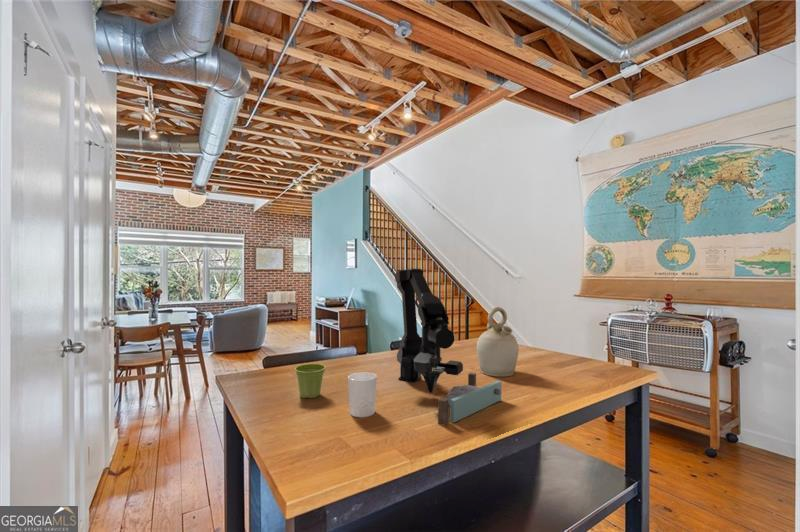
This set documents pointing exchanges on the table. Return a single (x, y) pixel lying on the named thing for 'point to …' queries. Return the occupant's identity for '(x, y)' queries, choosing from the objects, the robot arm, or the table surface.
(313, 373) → the plant pot
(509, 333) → the jug
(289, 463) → the table surface
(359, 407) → the white cup
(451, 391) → the stone block
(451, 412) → the gate
